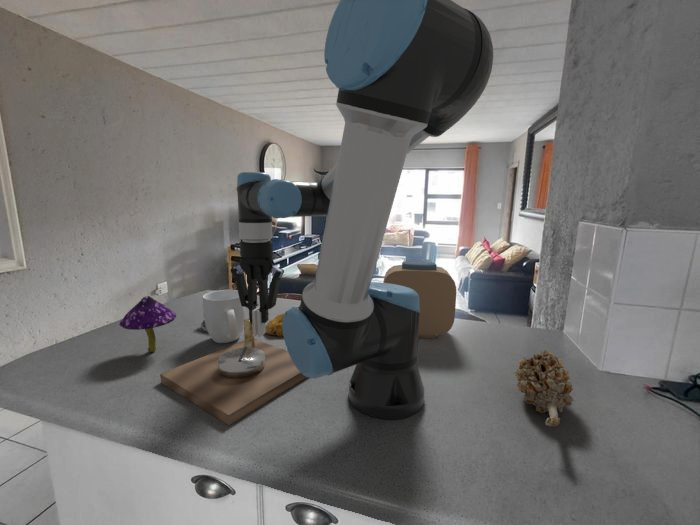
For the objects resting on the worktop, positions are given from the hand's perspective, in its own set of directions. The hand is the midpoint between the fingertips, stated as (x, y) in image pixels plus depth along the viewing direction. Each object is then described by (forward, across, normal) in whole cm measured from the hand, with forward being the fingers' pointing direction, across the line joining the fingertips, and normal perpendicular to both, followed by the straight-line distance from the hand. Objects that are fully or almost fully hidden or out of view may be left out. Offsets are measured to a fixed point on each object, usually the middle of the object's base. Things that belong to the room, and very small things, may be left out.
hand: (259, 334), depth 82 cm
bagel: (+7, +1, -17) cm, 19 cm away
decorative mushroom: (+7, +28, +4) cm, 29 cm away
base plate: (+6, 0, +10) cm, 11 cm away
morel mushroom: (+6, -62, +10) cm, 63 cm away
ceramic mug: (+7, +23, -17) cm, 29 cm away
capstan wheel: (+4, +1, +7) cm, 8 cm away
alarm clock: (+6, -38, -26) cm, 46 cm away
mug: (+7, +14, -8) cm, 17 cm away
